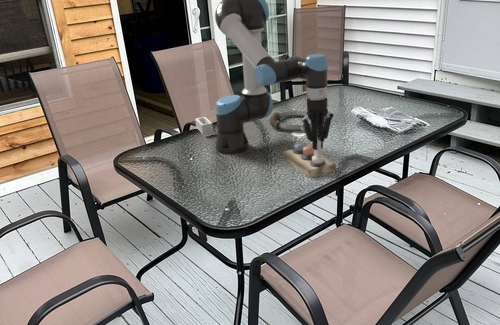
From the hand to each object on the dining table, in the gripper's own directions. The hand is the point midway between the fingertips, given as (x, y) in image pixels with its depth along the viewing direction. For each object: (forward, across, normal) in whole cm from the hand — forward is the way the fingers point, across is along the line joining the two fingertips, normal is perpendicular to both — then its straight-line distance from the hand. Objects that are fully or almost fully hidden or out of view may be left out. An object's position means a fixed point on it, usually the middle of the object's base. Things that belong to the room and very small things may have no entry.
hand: (317, 156), depth 174 cm
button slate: (+2, 0, +15) cm, 15 cm away
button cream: (+2, 0, 0) cm, 2 cm away
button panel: (+6, 0, +8) cm, 10 cm away
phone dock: (+6, -26, +70) cm, 75 cm away
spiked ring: (+7, +20, +55) cm, 59 cm away
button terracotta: (+1, 0, +8) cm, 8 cm away
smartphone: (+7, -26, +70) cm, 75 cm away
